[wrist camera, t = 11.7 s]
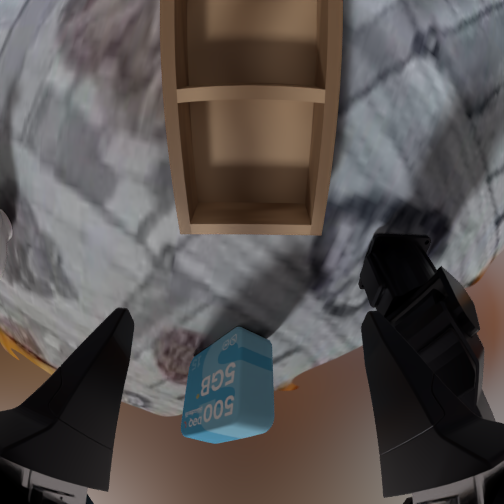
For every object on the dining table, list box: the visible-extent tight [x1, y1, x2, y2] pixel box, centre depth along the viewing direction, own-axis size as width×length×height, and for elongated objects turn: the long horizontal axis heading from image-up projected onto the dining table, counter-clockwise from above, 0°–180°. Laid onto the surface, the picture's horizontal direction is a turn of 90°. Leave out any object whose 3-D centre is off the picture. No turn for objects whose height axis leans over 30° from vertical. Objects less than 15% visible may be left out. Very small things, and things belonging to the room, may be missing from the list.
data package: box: [181, 327, 274, 444], centre depth 29 cm, size 12×4×12 cm, turn 141°
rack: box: [160, 0, 343, 235], centre depth 12 cm, size 10×27×4 cm, turn 0°
